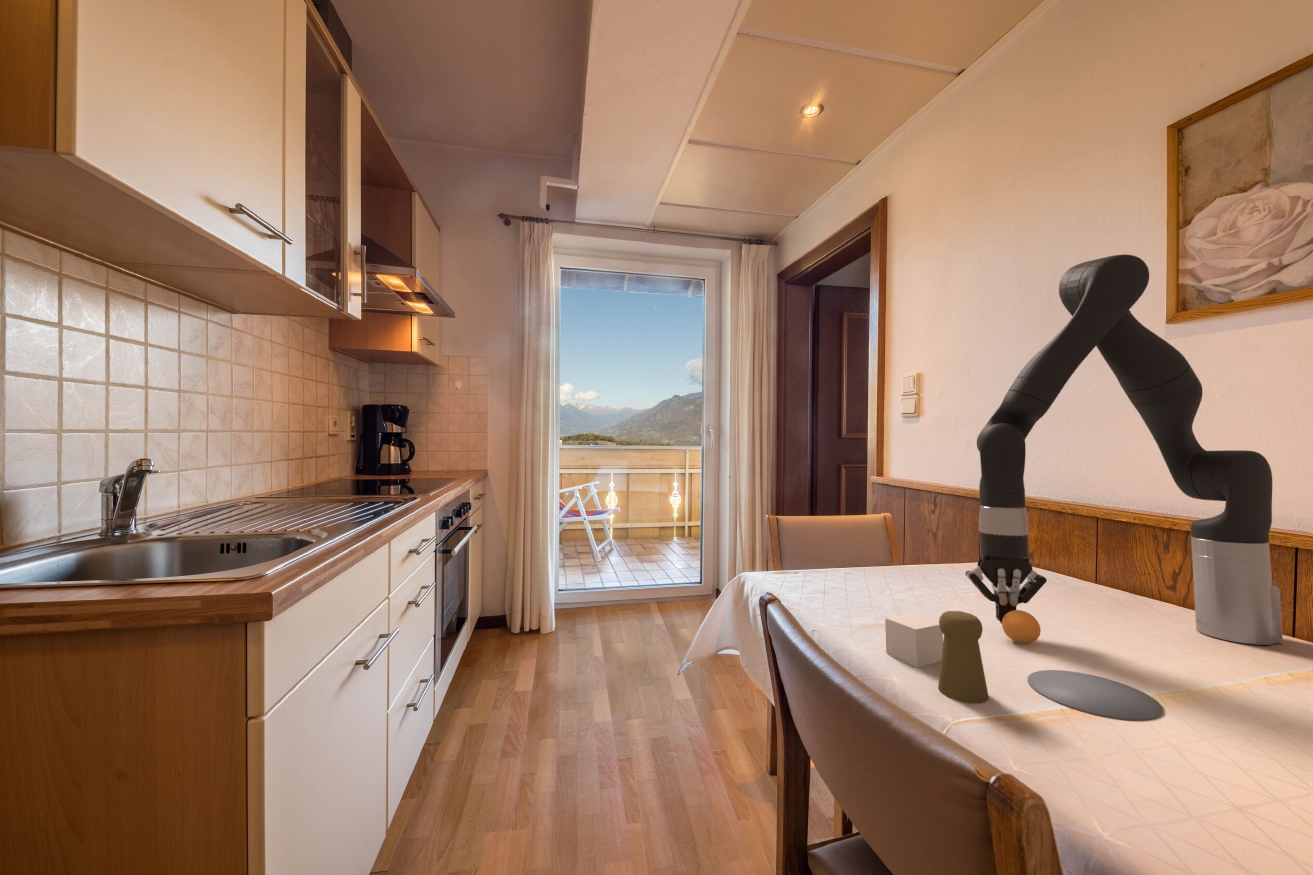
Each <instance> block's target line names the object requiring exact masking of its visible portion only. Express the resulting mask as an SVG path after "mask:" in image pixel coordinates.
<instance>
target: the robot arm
mask: <svg viewBox="0 0 1313 875" xmlns="http://www.w3.org/2000/svg"><path fill="white" fill-rule="evenodd" d="M1149 281H1150V270H1149V267H1148V265H1147V263H1146V262H1145V261H1144V260H1143V259H1142V258H1140V257H1139V256H1135V255H1133V254H1127V253H1126V254H1124V253H1123V254H1117V255H1115V254H1114V255H1110V256H1106V257H1100V258H1097V259H1092V260H1088V261H1084V262H1081V263H1078V264H1076V265H1073V266H1071V267H1070V268H1069V269H1068V270H1066V271H1065V272H1064V274H1063V275H1062V276H1061V278H1060V280H1059V285H1058V295H1059V297H1060V300H1061V303H1062V305H1063V307H1064V308H1065V309H1066V310H1067V312H1068V313H1069V314H1070V315H1071V318H1070V319H1069V321H1068V322H1067V323H1066V324H1065V326H1064V327H1063V328H1062V329H1061V330H1060V331H1059V332H1058V333H1057V334H1056V335H1055V336H1054V337H1053V338H1052V339H1051V340H1050V341H1049V342H1048V343H1047V344H1046V345H1045V346H1043V347H1042V348H1041V349H1040V350H1039V351H1037V353H1036V354H1034V356H1033V357H1032V358H1030V360H1029V361H1028V362H1027V363H1026V364H1025V365H1024V367H1023V368H1022V369H1021V371H1020V372H1019V373H1018V375H1017V376H1016V377H1015V379H1014V381H1013V382H1012V384H1011V385H1010V388H1009V389H1008V391H1007V392H1006V394H1005V395H1004V398H1003V400H1002V401H1001V403H1000V405H999V407H998V408H997V409H996V410H995V411H994V413H993V414H992V416H991V417H990V419H989V420H988V421H987V422H986V424H985V425H984V426H983V428H982V429H981V430H980V432H979V433H978V436H977V438H976V448H977V450H978V451H979V456H980V457H979V459H980V473H981V477H980V480H979V487H978V488H979V513H978V526H977V528H978V531H979V532H978V533H979V537H978V538H979V556H980V557H979V560H978V562H977V567H975V568H973V569H972V570H966V571H965V576H966V577H967V578H968V580H970V582H971V583H972V584H973V585H974V587H975V588H976V589H977V590H978V591H979V592H980V593H981V595H983V597H984V598H986V599H987V600H989V601H991V602H993V603H995V618H996V620H997V621H999V623H1000V624H1001V625H1002V619H1003V617H1004V616H1005V614H1007V613H1008V612H1010V611H1014V610H1017V607H1018V605H1020V604H1028V603H1029V602H1030V601H1031V599H1032V598H1033V597H1034V596H1035V595H1036V594H1037V593H1038V592H1039V591H1040V590H1041V589H1042V587H1043V586H1044V585H1045V584H1046V583H1047V580H1048V579H1047V578H1046V577H1045V576H1044V575H1041V574H1039V573H1037V572H1036V571H1034V570H1033V566H1032V564H1031V562H1030V544H1029V539H1030V538H1029V521H1028V520H1029V519H1028V514H1027V509H1026V508H1027V507H1026V490H1025V481H1024V475H1025V467H1026V450H1027V449H1026V448H1027V447H1026V439H1027V437H1028V435H1029V434H1030V432H1031V430H1032V429H1033V427H1034V426H1035V424H1036V423H1037V422H1038V421H1039V420H1040V419H1042V418H1043V417H1044V415H1046V413H1047V412H1048V410H1049V409H1050V408H1051V407H1052V405H1053V403H1054V402H1055V400H1056V399H1057V398H1058V396H1059V395H1060V394H1061V392H1062V390H1063V389H1064V387H1065V386H1066V384H1067V383H1068V381H1069V380H1070V378H1071V377H1072V375H1073V374H1074V373H1075V372H1076V370H1077V369H1078V368H1079V367H1080V365H1081V364H1082V363H1083V362H1084V360H1085V359H1086V358H1087V357H1088V356H1089V355H1090V353H1091V352H1092V351H1093V350H1094V349H1095V348H1096V349H1098V351H1099V353H1100V354H1101V356H1102V358H1103V359H1104V361H1105V362H1106V363H1107V365H1108V367H1109V368H1110V370H1111V371H1112V373H1113V375H1114V376H1115V378H1116V379H1117V381H1118V383H1119V385H1120V387H1121V388H1122V391H1123V392H1124V393H1125V395H1126V397H1128V400H1129V401H1130V402H1131V404H1132V405H1133V407H1134V408H1135V410H1136V411H1137V412H1138V413H1139V415H1140V418H1141V419H1142V421H1143V422H1144V424H1145V426H1146V427H1147V429H1148V430H1149V432H1150V434H1151V436H1152V437H1153V440H1154V441H1155V443H1156V445H1157V447H1158V449H1159V451H1160V453H1161V455H1162V458H1163V460H1164V462H1165V464H1166V467H1167V468H1168V471H1169V473H1170V475H1171V477H1172V479H1173V481H1174V483H1175V484H1176V486H1177V487H1178V489H1179V490H1180V491H1181V492H1182V493H1183V494H1184V495H1185V496H1187V497H1189V498H1191V499H1195V500H1196V499H1197V500H1203V501H1217V502H1225V506H1224V510H1223V512H1221V513H1219V514H1218V515H1215V516H1212V517H1208V518H1204V519H1196V520H1193V521H1191V524H1190V541H1191V554H1192V555H1191V558H1192V574H1193V575H1192V576H1193V578H1192V579H1193V592H1194V593H1193V594H1194V596H1193V597H1194V611H1195V612H1194V613H1195V628H1196V631H1198V632H1199V633H1201V634H1204V635H1207V636H1209V637H1212V638H1215V639H1220V640H1224V641H1229V642H1234V643H1240V644H1247V645H1248V644H1249V645H1261V646H1264V645H1265V646H1270V645H1274V644H1283V643H1284V641H1283V640H1284V638H1283V636H1284V635H1283V622H1282V608H1281V607H1282V605H1281V591H1280V588H1279V586H1276V585H1273V581H1272V566H1271V565H1272V564H1271V552H1270V550H1271V549H1270V531H1271V528H1272V524H1273V522H1272V521H1273V474H1272V473H1273V472H1272V468H1271V466H1270V464H1269V462H1268V460H1267V458H1266V457H1265V456H1264V455H1262V454H1261V453H1259V452H1258V451H1257V452H1256V451H1254V450H1238V449H1237V450H1235V449H1234V450H1231V449H1230V450H1227V449H1226V450H1206V449H1205V448H1203V447H1202V446H1201V444H1200V443H1199V441H1198V440H1197V437H1196V436H1195V433H1194V431H1193V424H1194V421H1195V418H1196V415H1197V413H1198V412H1199V411H1198V410H1199V407H1200V405H1201V402H1202V399H1203V386H1202V383H1201V380H1200V379H1199V378H1198V375H1197V374H1196V373H1195V371H1194V369H1193V368H1192V366H1191V364H1190V363H1189V361H1188V360H1187V359H1186V357H1185V356H1184V355H1183V354H1182V353H1181V351H1179V350H1178V349H1176V348H1175V347H1174V346H1173V345H1172V344H1170V342H1168V341H1166V339H1163V338H1162V337H1160V336H1159V335H1158V334H1156V333H1154V332H1153V331H1151V330H1150V329H1149V328H1147V327H1146V326H1145V325H1143V323H1141V322H1140V321H1138V320H1139V319H1137V318H1136V317H1135V316H1134V315H1133V313H1132V311H1131V310H1130V309H1131V308H1132V307H1133V306H1135V304H1136V303H1137V302H1138V300H1139V299H1140V298H1141V296H1143V294H1144V292H1146V289H1147V287H1148V285H1149ZM983 575H984V576H983ZM984 577H985V578H986V579H987V580H988V581H989V582H990V583H991V588H992V591H993V592H992V591H991V590H990V589H989V588H988V587H987V585H986V584H985V583H984V582H983V580H984ZM1025 580H1026V582H1025ZM1023 582H1025V583H1024V585H1023V586H1022V587H1021V588H1020V586H1021V585H1022V584H1023Z"/></svg>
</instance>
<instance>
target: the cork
mask: <svg viewBox="0 0 1313 875" xmlns="http://www.w3.org/2000/svg"><path fill="white" fill-rule="evenodd" d="M938 623H939V626H940V629H941V631H942V633H943V649H942V658H941V662H940V666H939V667H940V668H939V674H938V676H939V678H938V686H937V689H938V690H939V692H940V693H941V694H942V695H944V696H946V697H947V698H949V699H952V700H954V701H957V702H962V703H966V704H984V703H987V702H988V701H989V699H990V698H989V691H988V686H987V681H986V676H985V670H984V665H983V661H982V660H983V659H982V654H981V649H980V643H979V640H980V638H981V637H982V634H983V624H982V622H981V620H980V619H979V617H977V616H975V615H974V614H972V613H969V612H965V611H959V610H948V611H945V612H943V613H942V614H941V615H940V616H939V619H938Z"/></svg>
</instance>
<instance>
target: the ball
mask: <svg viewBox="0 0 1313 875" xmlns="http://www.w3.org/2000/svg"><path fill="white" fill-rule="evenodd" d="M1001 627H1002V631H1003V632H1004V634H1005V635H1006V636H1007V638H1009V639H1011V640H1012V641H1014V642H1016V643H1019V644H1032V643H1034V642H1035V641H1037V640H1038V639H1039V637H1040V635H1041V625H1040V623H1039V621H1038V620H1037V618H1035V616H1034V615H1032V614H1031V613H1029V612H1027V611H1024V610H1017V609H1016V610H1014V611H1010V612H1008V613H1007V614H1005V616H1004V617H1003V619H1002V624H1001Z"/></svg>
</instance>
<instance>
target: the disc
mask: <svg viewBox="0 0 1313 875" xmlns="http://www.w3.org/2000/svg"><path fill="white" fill-rule="evenodd" d="M1027 684H1028V686H1029V687H1030V688H1031V689H1033V690H1034V691H1035V692H1036V693H1038V694H1039V695H1041V696H1043V697H1045V698H1046V699H1047V700H1050V701H1053V702H1055V703H1057V704H1059V705H1062V706H1065V707H1068V708H1071V709H1074V710H1076V711H1079V712H1084V713H1086V714H1091V715H1095V716H1100V717H1103V718H1104V717H1105V718H1108V719H1109V718H1111V719H1117V720H1125V721H1150V720H1155V719H1158V718H1160V717H1161V716H1162V715H1163V714H1164V709H1163V706H1162V704H1161V702H1159V701H1158V700H1157V699H1155V698H1154V697H1152V696H1151V695H1149V694H1147V693H1145V692H1144V691H1141V690H1139V689H1137V688H1135V687H1132V686H1130V685H1128V684H1125V683H1121V682H1120V681H1116V680H1112V679H1110V678H1106V677H1101V676H1098V675H1094V674H1090V673H1083V672H1076V671H1071V670H1070V671H1069V670H1063V669H1062V670H1061V669H1057V670H1056V669H1045V670H1038V671H1034V672H1031V673H1030V674H1028V676H1027Z"/></svg>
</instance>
